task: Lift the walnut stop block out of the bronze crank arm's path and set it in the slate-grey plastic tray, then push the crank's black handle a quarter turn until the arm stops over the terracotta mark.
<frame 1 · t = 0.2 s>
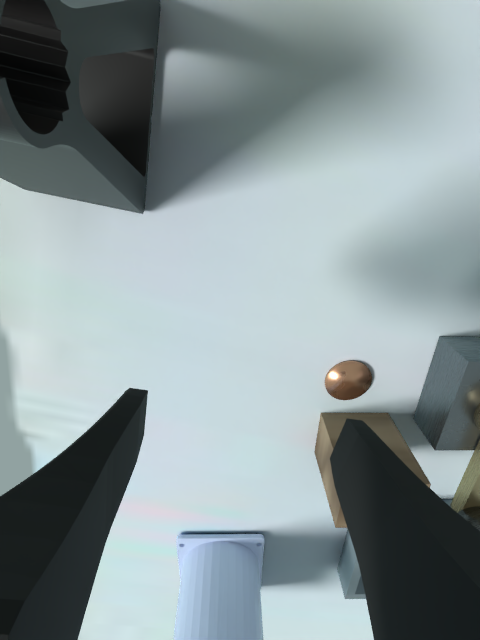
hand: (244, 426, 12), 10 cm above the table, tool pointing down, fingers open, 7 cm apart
phone stand: (90, 104, 16), on the table
tray: (433, 536, 32), on the table
crank housing: (474, 380, 24), on the table
stop block: (350, 432, 26), on the table
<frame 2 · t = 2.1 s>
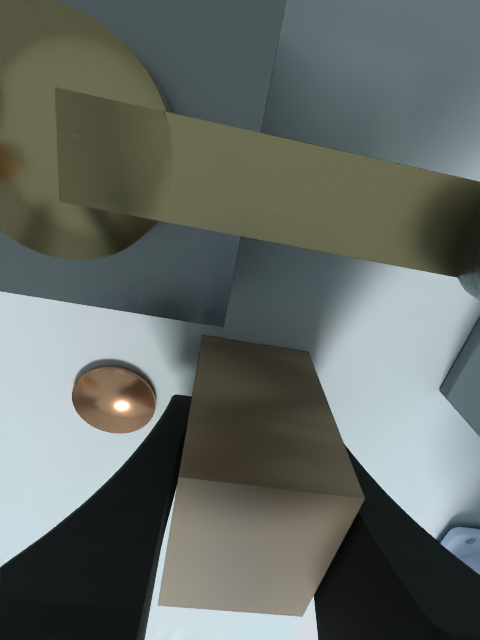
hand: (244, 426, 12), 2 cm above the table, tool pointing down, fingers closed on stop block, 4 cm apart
crank: (291, 197, 6), point 5 cm above the table, hinge at 0.0°
crank housing: (125, 151, 10), on the table
stop block: (243, 396, 13), on the table, touching gripper
when the fingers open (4 cm above the table, at t = 6.7 s): stop block drops 1 cm, resting on tray.
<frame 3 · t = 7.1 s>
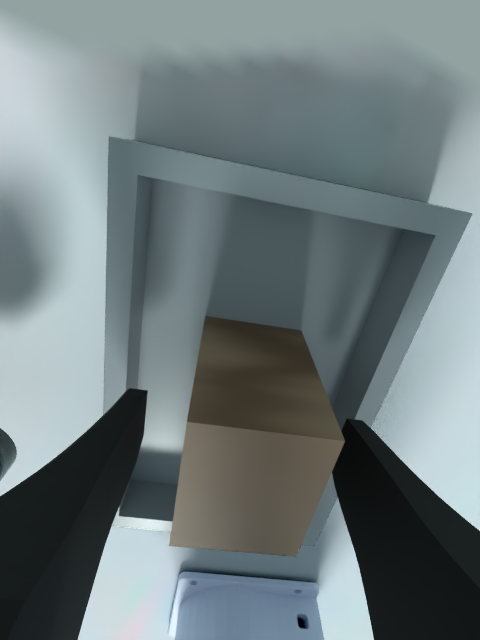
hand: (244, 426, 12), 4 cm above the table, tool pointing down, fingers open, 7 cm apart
tray: (242, 368, 15), on the table
stop block: (242, 373, 15), resting on tray
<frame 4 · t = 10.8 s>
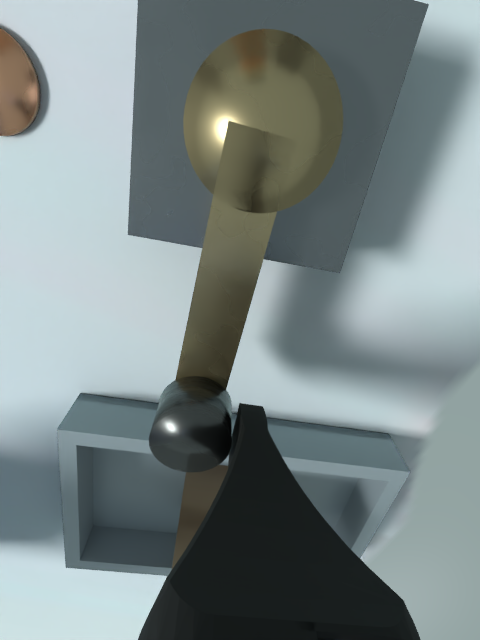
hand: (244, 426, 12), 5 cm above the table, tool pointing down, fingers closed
crank: (225, 287, 10), point 5 cm above the table, hinge at 3.5°, touching gripper
tray: (225, 482, 20), on the table
crank housing: (253, 138, 12), on the table
stop block: (226, 490, 20), resting on tray
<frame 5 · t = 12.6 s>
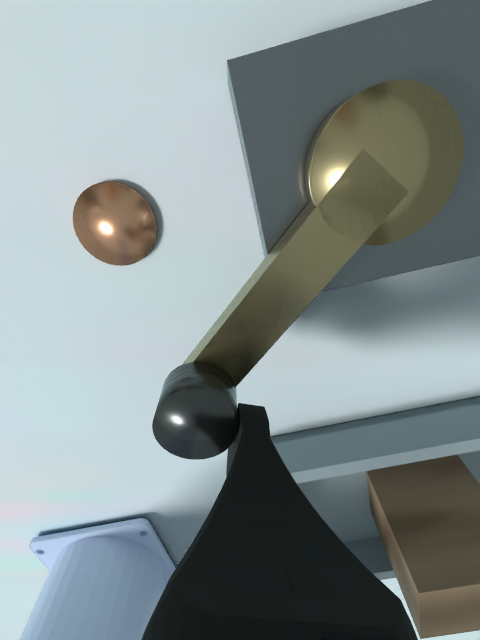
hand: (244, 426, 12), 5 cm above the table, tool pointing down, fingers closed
crank: (288, 293, 10), point 5 cm above the table, hinge at 50.0°, touching gripper
tray: (405, 477, 20), on the table
crank housing: (341, 166, 13), on the table
stop block: (411, 484, 20), resting on tray
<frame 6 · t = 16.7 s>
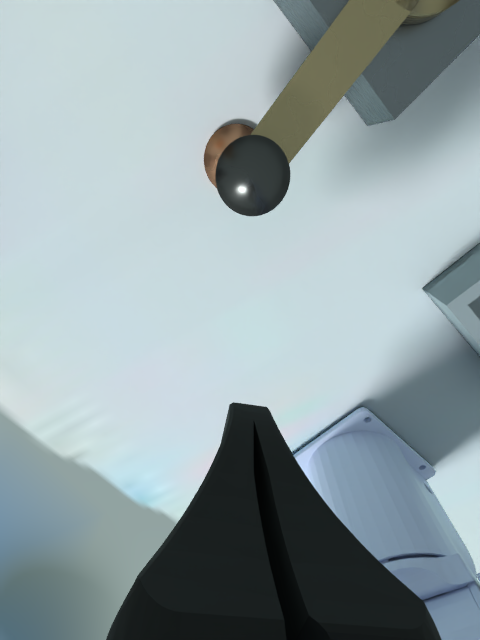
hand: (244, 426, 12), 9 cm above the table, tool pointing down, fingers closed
crank: (343, 54, 11), point 5 cm above the table, hinge at 85.6°
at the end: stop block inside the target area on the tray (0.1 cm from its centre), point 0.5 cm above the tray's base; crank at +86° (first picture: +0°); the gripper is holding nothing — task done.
